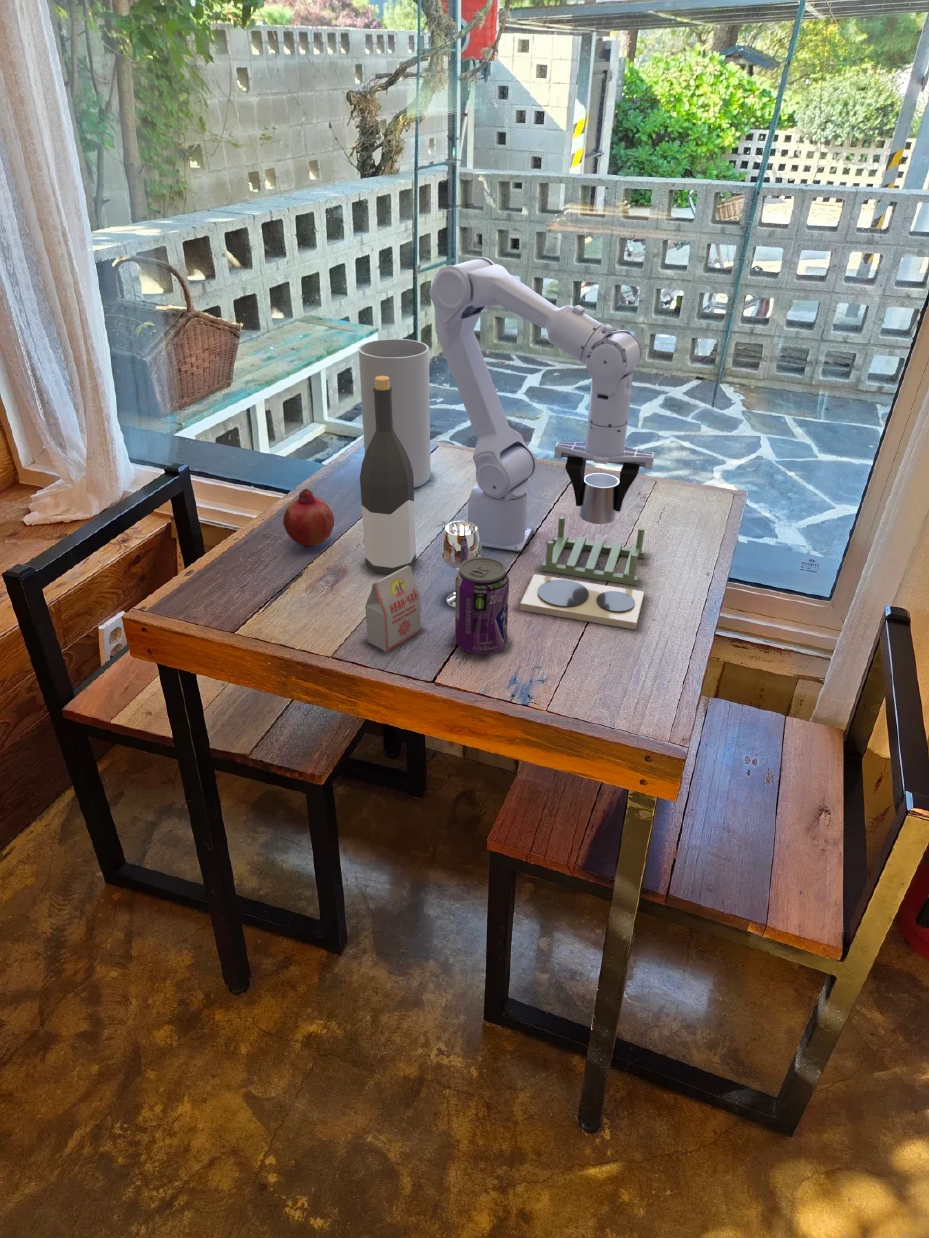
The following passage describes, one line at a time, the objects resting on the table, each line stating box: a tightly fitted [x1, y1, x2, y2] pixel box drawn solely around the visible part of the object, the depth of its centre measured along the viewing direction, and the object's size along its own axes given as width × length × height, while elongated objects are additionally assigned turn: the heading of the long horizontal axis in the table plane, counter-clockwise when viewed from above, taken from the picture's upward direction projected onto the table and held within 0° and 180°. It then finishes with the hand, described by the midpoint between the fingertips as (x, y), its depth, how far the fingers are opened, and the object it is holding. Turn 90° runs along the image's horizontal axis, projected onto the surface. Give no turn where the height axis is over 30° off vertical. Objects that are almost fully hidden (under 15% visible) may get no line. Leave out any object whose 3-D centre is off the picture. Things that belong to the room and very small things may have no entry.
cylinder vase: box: [358, 338, 432, 489], centre depth 153 cm, size 12×12×25 cm
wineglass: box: [441, 520, 483, 608], centre depth 120 cm, size 6×6×12 cm
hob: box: [519, 573, 645, 631], centre depth 122 cm, size 17×9×2 cm, turn 73°
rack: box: [541, 516, 646, 586], centre depth 132 cm, size 15×10×5 cm
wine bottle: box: [359, 376, 417, 576], centre depth 124 cm, size 8×8×30 cm
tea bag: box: [364, 565, 422, 652], centre depth 112 cm, size 4×7×10 cm, turn 139°
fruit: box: [282, 488, 335, 548], centre depth 135 cm, size 8×8×10 cm
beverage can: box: [454, 556, 510, 655], centre depth 110 cm, size 7×7×12 cm
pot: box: [579, 472, 620, 525], centre depth 126 cm, size 6×6×6 cm
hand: (598, 506), depth 127 cm, fingers closed on pot, 5 cm apart
